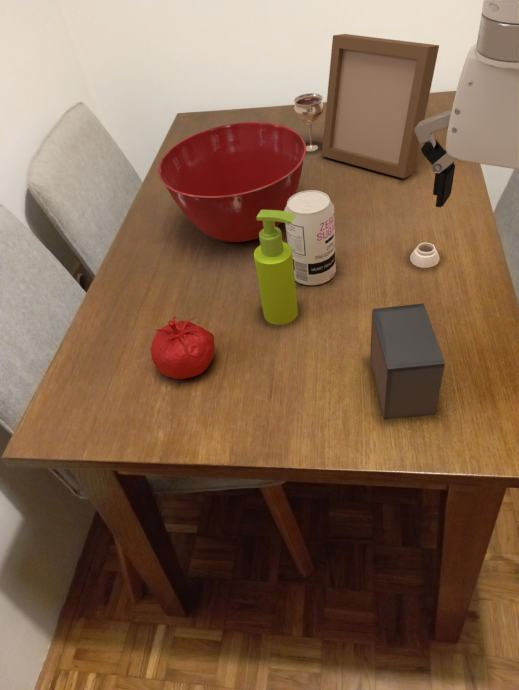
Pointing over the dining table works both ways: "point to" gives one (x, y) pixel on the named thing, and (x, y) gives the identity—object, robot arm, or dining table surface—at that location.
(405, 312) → the grey open box
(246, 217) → the mixing bowl
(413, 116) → the photo frame
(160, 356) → the red tomato
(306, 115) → the wineglass
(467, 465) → the dining table surface
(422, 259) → the white jar
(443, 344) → the dining table surface
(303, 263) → the supplement can
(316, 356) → the dining table surface
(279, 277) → the soap dispenser
